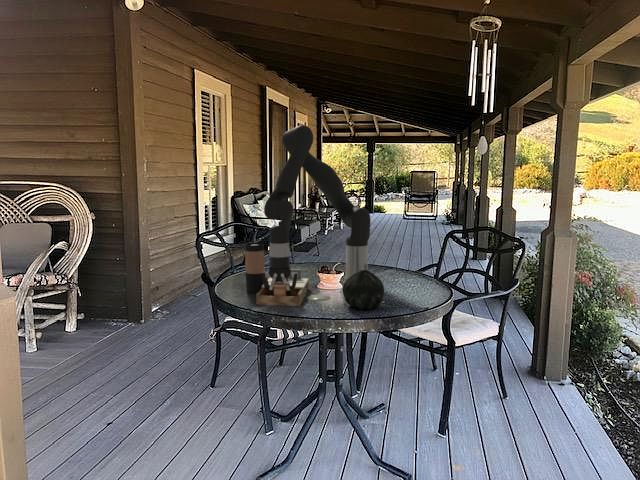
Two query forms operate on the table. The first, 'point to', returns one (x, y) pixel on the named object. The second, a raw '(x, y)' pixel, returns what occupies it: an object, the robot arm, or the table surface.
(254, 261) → the travel mug
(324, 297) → the saucer
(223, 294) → the table surface
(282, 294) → the pot
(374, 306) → the squash
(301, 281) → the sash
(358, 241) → the robot arm
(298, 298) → the box
